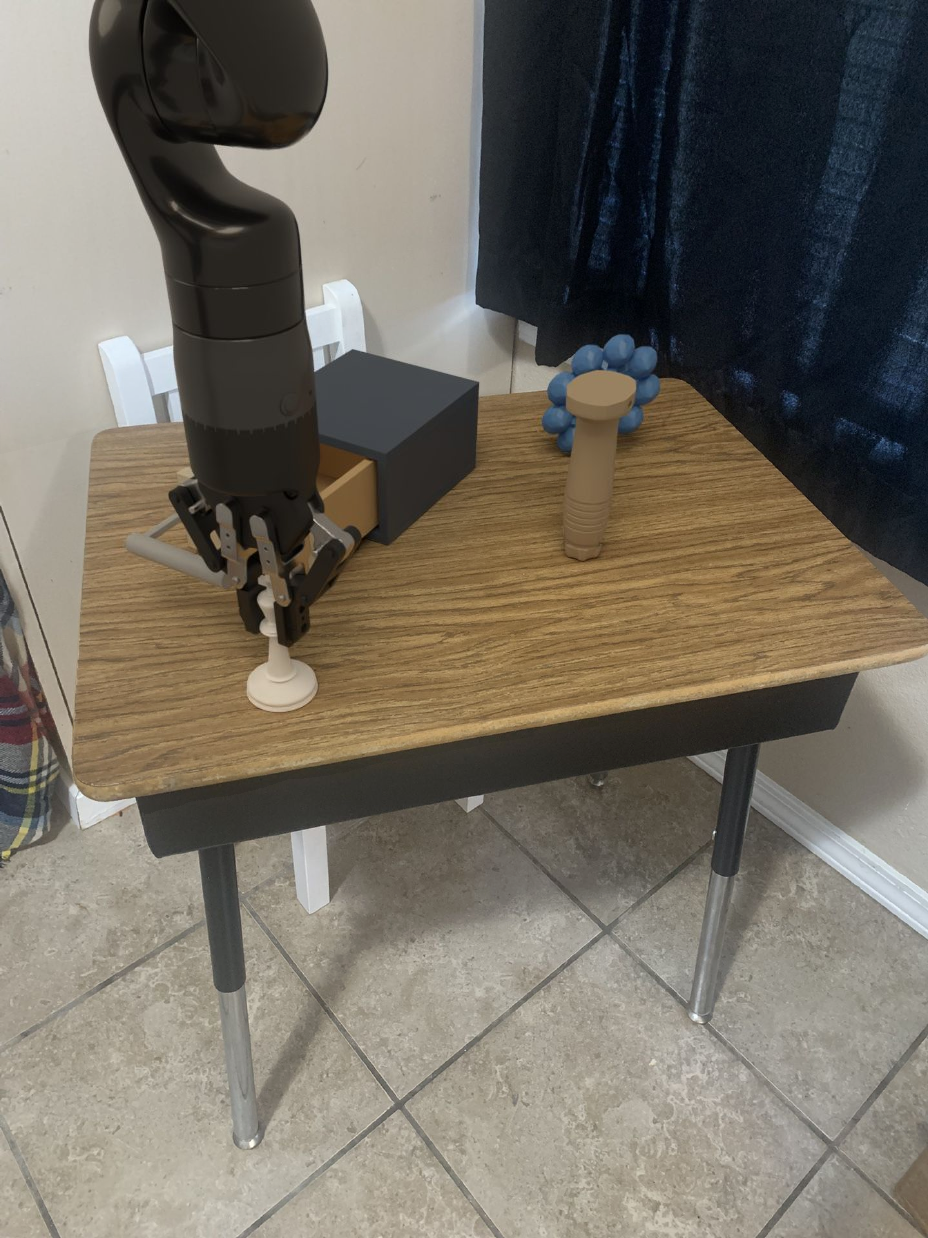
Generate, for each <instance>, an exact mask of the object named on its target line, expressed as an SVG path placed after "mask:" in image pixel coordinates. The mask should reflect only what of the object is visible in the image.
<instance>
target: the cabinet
mask: <svg viewBox="0 0 928 1238" xmlns="http://www.w3.org/2000/svg"><path fill="white" fill-rule="evenodd" d="M314 373H315V387H316V401H317V416H318V430H319V443H321V444H325V445H328V446H331V447H334V448H338V449H341V450H344V451H348V452H351V453H354V454H357V455H361V456H364V457H367V458H370V459H374V460H377V469H378V504H379V524H378V525H377V526H375V527H374V528H373V529H372V530H371V531H370V532H368V533H367V534H366V535H365V536H364V537H363V538H364V539H365V538H366V539H368V540H371V541H374V542H376V543H379V544H382V545H385V546H390V544H392V543H393V542H394V541H395V540H396V539H397V538H398V537H400V535H402V534H403V533H404V532H405V531H407V529H408V528H410V527H411V526H412V525H413V524H414V523H415V522H416V521H417V520H418V519H419V518H421V517H422V516H423V515H424V514H425V513H427V512H428V511H429V510H430V509H432V507H433V506H435V504H437V502H438V501H440V500H441V499H442V498H443V497H444V496H446V494H447V493H449V492H450V491H451V490H452V489H453V488H454V487H455V486H457V485H458V484H459V483H460V482H462V480H463V479H464V478H465V477H467V476H468V475H469V474H470V473H472V471H473V470H475V469H476V467H477V449H478V447H477V445H478V444H477V443H478V422H479V400H480V392H479V391H480V381H477V380H473V379H469V378H466V377H462V376H458V375H454V374H451V373H447V372H443V371H438V370H435V369H431V368H428V367H424V366H418V365H415V364H412V363H408V362H405V361H400V360H397V359H393V358H389V357H385V356H382V355H378V354H373V353H369V352H365V351H362V350H358V349H354V348H351V349H350V350H348V351H347V352H345V353H343V354H341V355H340V356H338V357H337V358H335V359H333V360H332V361H330V362H328V363H327V364H325V365H324V366H322V367H320V368H318V369H317V370H314Z"/></svg>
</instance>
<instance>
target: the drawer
mask: <svg viewBox="0 0 928 1238" xmlns="http://www.w3.org/2000/svg"><path fill="white" fill-rule="evenodd" d="M319 444H320V464H319V468H318V473H317V478H316V486H317V489H318V492H319V494H320V496H321V498H322V500H323V503H324V507H325V511H324V515H326V516H327V517H328V518H329V519H330V520H331V521H333V522H334V523H335V524H336V525H337V526H338V527H340V528H341V529H342V530H343V529H345V528H346V527H347V526H349V525H352V526H355V527H356V528H357V529H358V530H359V531H360V533H361V535H362V539H363V538H365V537H364V536H365V535H366V534H367V533H368V532H370V531H371V530H372V529H373V528H374V527H375V526H377V525H378V524H379V504H378V469H377V460H374V459H370V458H367V457H364V456H361V455H357V454H354V453H351V452H348V451H344V450H341V449H338V448H334V447H331V446H328V445H325V444H321V443H319ZM193 476H194V474H193V472H192V470H191V467H188V466H184V467H183V468H182V469H180V470H179V471H176V480H177V481H176V482H177V486H178V485H179V484H181V483H183V482H184V481H186V480H187V479H190V478H191V477H193ZM180 523H182V521H181V519H180V518H179V516H178V514H177V512H176V511H175V512H174V513H172V514H171V515H170V516H168V517H166V518H165V519H163V520H162V521H161V522H159V523H158V524H156V525H155V526H153V527H151V528H150V529H149V530H147V531H146V532H144V533H141V532H138V531H134V532H131V533H130V534H129V535H128V536H127V538H126V539H125V543H124V545H125V549H126V551H127V552H129V553H130V554H131V555H134V556H137V557H141V558H143V559H145V560H148V561H150V562H153V563H155V564H158V565H161V566H163V567H166V568H169V569H171V570H173V571H175V572H178V573H181V574H184V575H185V576H189V577H191V578H194V579H196V580H199V581H201V582H204V583H206V584H209V585H212V586H215V587H217V588H218V589H219V588H220V589H223V590H225V591H227V590H228V591H229V590H230V589H231V588H233V586H232V585H231V584H230V582H229V580H228V575H227V574H226V573H224V572H223V571H222V570H221V571H219V572H218V573H214V572H212V571H211V570H210V569H209V568H208V567H207V565H206V564H205V562H204V560H203V558H202V557H201V555H200V554H196V553H194V552H191V551H188V550H186V549H183V548H181V547H178V546H175V545H172V544H170V543H168V542H164V541H162V540H160V539H158V538H159V537H161V536H162V535H164V534H165V533H167V532H168V531H170V530H171V529H173V528H174V527H176V526H177V525H179V524H180ZM185 532H186V538H187V542H188V543H187V544H188V547H190V548H191V549H192V548H193V549H195V550H197V548H196V546H195V544H194V542H193V541H192V539H191V537H190V535H189V534H188V532H187V530H186V529H185ZM210 537H211V539H212V541H213V543H214V545H215V547H216V548H217V550H218V549H219V548H220V547H221V541H220V539H219V537H218V535H217V534H216V532H215V530H214V531H213V532H211V534H210ZM309 538H310V544H311V552H312V551H313V550H314V547H313V544H314V536H313V534H312V532H310V533H309ZM315 559H316V558H314V557H313V556H312V554H310V556H309V558H308V563H309V569H310V568H311V566H312V565H313V563H314V561H315ZM263 574H264V573H263ZM289 577H290V578H292V576H291V572H290V576H289Z"/></svg>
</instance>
